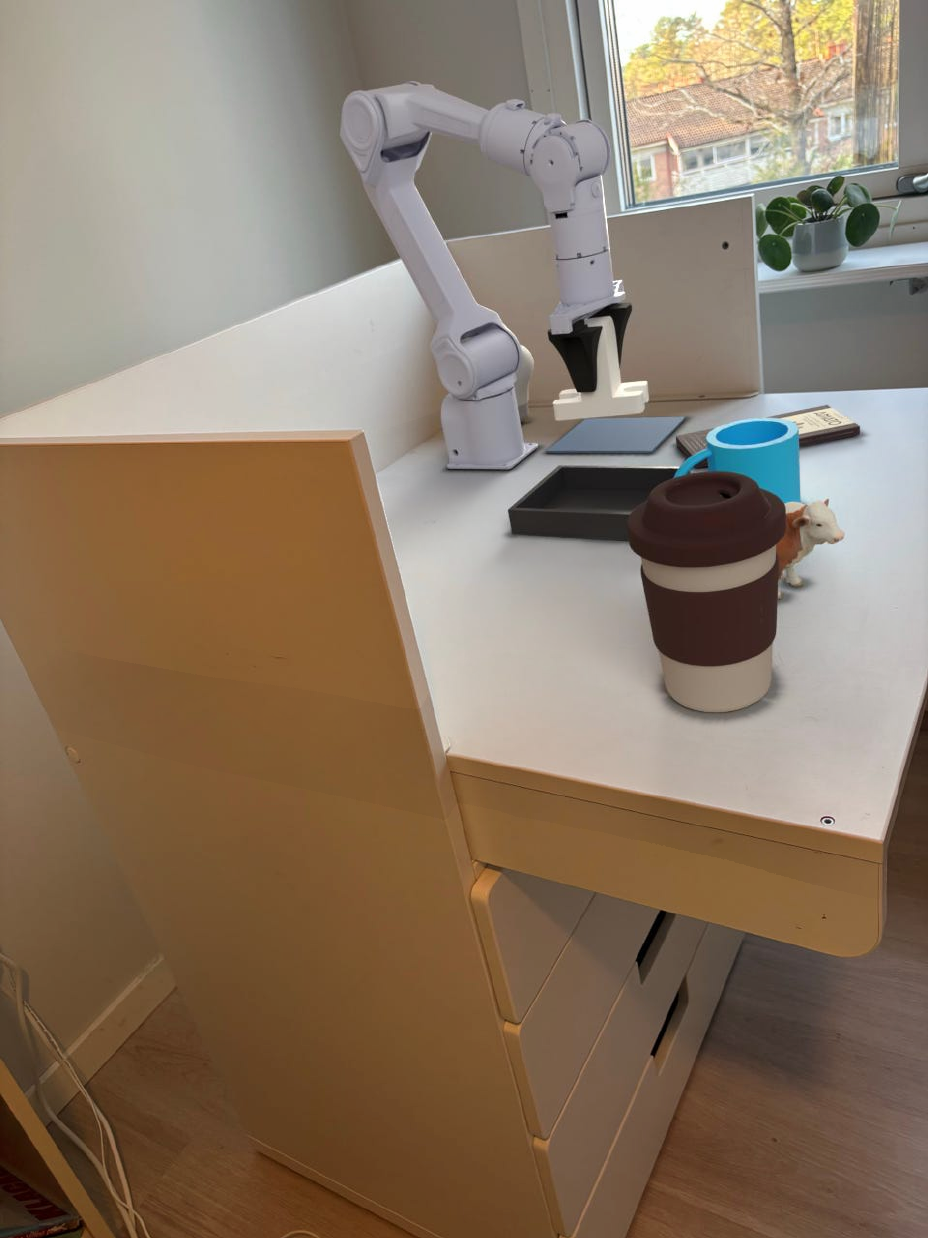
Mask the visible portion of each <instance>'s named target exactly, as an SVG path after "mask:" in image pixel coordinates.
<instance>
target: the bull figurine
mask: <svg viewBox="0 0 928 1238" xmlns="http://www.w3.org/2000/svg"><path fill="white" fill-rule="evenodd" d="M829 502H830V498H826V499H825V501H822V500H815V501H812V502H811V503H810V504H806V503H802V502H801V503H799V502H788V503H785V507H786V531H785V534H784V536H783V538H782V539H781V540H780V541H779V542H778V543H777V544H776V552H777V553H778V557H779V581H780V580H781V579H782V577H783V573H784V571H785V576H786V577H785V583H786V584H788V583H789V584H790V585H791V586H792V587H794V588H795V587H796V588H798V587H801V586H803V585H804V580H803V579H801V578H800V577H799V576H798V574H797V573H796V571H795V569H794V565H796V564H798V563H800V562H801V561H802V560H803V558H805V557H806V556H808V555H809V554H810V553H812V552H813V550H814V548H815V546H816V545H824V544H826V543H827V544H828V545H835V544H837V543H839V542H841V541H843V539H844V538H845V532H844V531H843V530H842V529H841V528H840V527H839V525H838V523H837V519H836V514H835V512H834V511H833V510H832V509H831V508H830V507H828V506H829ZM783 598H784V594H783V593H782V591H781V590H780V588H779V587H778V601H779V600H782V599H783Z"/></svg>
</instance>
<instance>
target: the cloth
mask: <svg viewBox="0 0 928 1238" xmlns="http://www.w3.org/2000/svg"><path fill="white" fill-rule="evenodd" d="M686 419H687V416H651V417H650V416H649V417H648V416H647V417H646V416H645V417H593V418H583V420H581V422H580V423H578V424H577V425H576V426H574V427H573V428H572V429H571V430H570V431H569V432H567V433H566V434H565V435H564V436H563V437H561V438H560V439H559V440H557V441H556V442H555V443H554V444H553V445H552V446H551V447H550V448H548V449H547V450H545V451H546V454H653V453H654V452H655V451H656V450H657V449H658V448H659V447H660V446H661V445H662V444H663V443H664V442H665V441H666V439H668V438H669V437H670V435H671V434H672V433H674V431H676V430H677V429H678V428H679V427H680V425H681V424H683V423H684V421H686Z"/></svg>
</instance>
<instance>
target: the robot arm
mask: <svg viewBox="0 0 928 1238" xmlns="http://www.w3.org/2000/svg"><path fill="white" fill-rule="evenodd" d="M341 110H342V111H341V118H340V131H339V138H340V139H341V141H342V144H344V146H345V148H346V150H347V152H348V154H349V156H350V158H351V160H352V162H353V163H354V165H355V167H356V169H357V171H358V173H359V175H360V178H361V182H362V185H363V188H364V191H365V193H366V196H367V198H368V199H369V201H370V203H371V205H372V207H373V208H374V211H375V213H376V214H377V217H378V218H379V220H380V222H381V224H382V225H383V227H384V229H385V232H386V233H387V235H388V237H389V239H390V240H391V243H392V244H393V247H394V248H395V250H396V252H397V254H398V256H399V257H400V259H401V261H402V263H403V265H404V267H405V269H406V270H407V273H408V274H409V276H410V278H411V280H412V281H413V284H414V285H415V287H416V289H417V292H418V293H419V295H420V298H421V299H422V300H423V302H424V304H425V307H426V308H427V310H428V312H429V314H430V316H431V317H432V319H433V321H434V324H435V325H436V329H435V332H434V335H433V337H432V340H431V342H430V345H429V351H430V353H431V354H432V357H433V359H434V362H435V365H436V369H437V370H436V371H437V374H438V378H439V380H440V383H441V385H442V386H443V388H444V389H445V390H446V391H447V392H448V394H447V395H446V396H445V397H444V398H443V400H442V403H441V406H440V423H441V428H442V432H443V437H444V443H445V447H446V452H447V457H448V460H449V462H448V463H447V464H446V468H447V469H449V470H455V469H456V470H511V469H512V468H514V467H515V466H516V465H518V464H519V463H520V462H521V461H523V460H524V459H525V458H526V457H528V456H529V455H530V454H531V453H532V452H533V451H535V450H536V449H537V448H538V447H539V445H538V443H537V442H525V441H524V436H523V435H524V434H523V429H522V424H521V423H522V422H520V417H519V411H518V405H517V399H516V394H515V388H514V383H515V382H516V381H517V378H516V372H517V371H518V370H519V368H520V366H521V363H522V350H521V346H520V345H521V343H520V342H519V341H520V340H519V339H518V337H517V336H516V335H515V334H514V332H512V331H511V330H510V329H509V328H508V327H507V326H506V325H505V324H504V322H503V321H502V319H501V317H500V315H499V313H497V312H496V311H494V310H492V309H489V308H487V307H485V306H483V305H481V304H478V303H477V301H476V299H475V297H474V296H473V294H472V291H471V290H470V288H469V286H468V284H467V282H466V281H465V278H464V276H463V274H462V273H461V270H460V268H459V267H458V265H457V263H456V261H455V259H454V258H453V255H452V254H451V252H450V249H449V248H448V246H447V244H446V241H445V240H444V238H443V236H442V234H441V233H440V231H439V229H438V227H437V225H436V223H435V221H434V219H433V218H432V215H431V213H430V212H429V210H428V208H427V206H426V203H425V202H424V200H423V198H422V197H421V194H420V192H419V190H418V188H417V187H416V185H415V176H416V172H417V171H418V169H419V168H420V167H421V164H422V161H423V158H424V157H425V154H426V152H427V148H428V147H429V143H430V141H431V138H432V136H433V134H437V135H440V136H444V137H448V138H450V139H455V140H458V141H462V142H466V143H470V144H472V145H477V146H479V148H480V151H481V154H482V156H483V158H484V159H485V160H486V161H487V162H488V163H490V164H493V165H496V166H498V167H502V168H505V169H507V170H509V171H513V172H515V173H518V174H521V175H524V176H527V177H529V178H531V179H532V181H533V183H534V184H535V186H536V187H537V188H538V190H539V191H540V192H541V194H542V199H543V205H544V206H543V207H544V208H546V210H547V212H548V218H549V225H550V233H551V241H552V247H553V255H554V261H555V268H556V276H557V284H558V290H559V291H558V292H559V298H560V300H559V302H558V303H557V306H556V308H555V310H554V311H553V312H552V313H551V314H550V315H549V316H548V317H549V324H550V328H549V329H548V330H547V339H548V341H549V342H550V344H552V345H553V347H554V349H556V351H557V352H558V354H559V355H560V357H561V358H562V360H563V363H564V364H565V367H566V369H567V371H568V374H569V376H570V379H571V381H572V384H573V386H574V389H576V391H577V393H582V392H594V391H596V388H597V351H598V344H599V339H600V335H601V332H602V329H603V327H602V326H594V327H588V324H585V322H584V320H586V319H590V318H598V317H605V316H610V317H611V318H612V320H613V323H614V328H615V334H616V343H617V352H618V361H619V369H620V370H621V364H622V355H623V346H624V340H625V339H624V338H625V333H626V329H627V326H628V322H629V319H630V317H631V315H632V313H633V304H632V303H631V302H623V301H625V300H626V299H627V297H626V292H625V287H624V280H622V279H620V280H614V273H613V265H612V256H611V245H610V238H609V237H610V236H609V230H608V228H609V227H608V218H607V211H606V210H607V209H606V203H605V202H606V201H605V193H604V184H603V183H604V181H603V176H604V175H605V174H606V172H607V171H608V168H609V166H610V163H611V156H612V149H611V143H610V140H609V137H608V135H607V134H606V132H605V130H604V129H603V128H602V127H601V126H600V125H599V124H597V123H595V122H593V121H592V120H590V119H589V118H581V119H578V120H575V121H574V122H572V123H571V124H567V123H566V122H565V121H563V120H562V115H561V114H560V113H556V112H551V113H548V114H546V115H545V114H542V113H539V112H536V111H534V110H530V109H527V108H525V101H524V100H522V99H518V98H512V99H507V100H506V102H500V103H498V104H496V105H495V106H493V107H492V108H491V109H490V110H488V109H486V108H484V107H481V106H478V105H476V104H474V103H472V102H469V101H466V100H464V99H462V98H459V97H457V96H454V95H452V94H449V93H447V92H444V91H442V90H440V89H437V88H435V86H434V85H433V84H429V83H423V84H422V83H420V82H418V81H415V80H410V81H407V82H403V83H402V84H396V85H391V86H385V87H380V88H374V89H368V90H362V89H359V90H354V91H351V92H350V93H348V95H347V97H345V100H344V102H343V105H342V109H341Z"/></svg>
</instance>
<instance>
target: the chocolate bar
mask: <svg viewBox="0 0 928 1238" xmlns="http://www.w3.org/2000/svg"><path fill="white" fill-rule="evenodd" d="M765 418H779V419H784V420H789V421H791V422H793V423H795V424H796V425H797V426H798V428H799V448H801V447H805V446H810V445H816V444H821V443H825V442H830V441H835V440H840V439H845V438H850V437H855V436H860V435H861V425H859V424H858V423H856V422H854V421H853V420H852V419H850V418H849V417H847V416H845V415H844V414H842V413H841V412H839V411H837V410H836V409H834V408H833V407H832V406H830V405H829V404H824V405H819V406H814V407H810V408H805V409H801V410H796V411H791V412H786V413H781V414H776V415H771V416H765ZM715 428H716V427H713V428H707V429H704V430H699V431H693V432H688V433H684V434H679V435H675V444H676V445H677V446H678V448H679V449H680V450H681V451H682V452H683V454H684V455H685V456H686V457H687V459H688V458H689V457H691V456H693V455H694V454H696V453H698V452H699V451H701V450H704V449H707V444H706V437H707V435H708V433H709V432H710V431H712V430H713V429H715ZM694 467H696V469H697V468H698V469H699V468H703V467H708V458H705V459H704V460H702V461H700V462H699V463H697V464H696V465H694Z"/></svg>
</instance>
